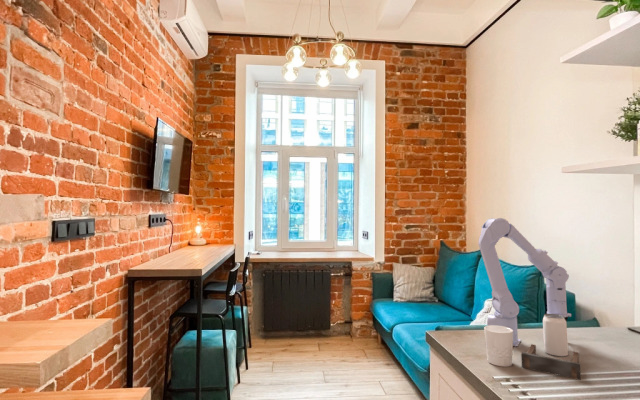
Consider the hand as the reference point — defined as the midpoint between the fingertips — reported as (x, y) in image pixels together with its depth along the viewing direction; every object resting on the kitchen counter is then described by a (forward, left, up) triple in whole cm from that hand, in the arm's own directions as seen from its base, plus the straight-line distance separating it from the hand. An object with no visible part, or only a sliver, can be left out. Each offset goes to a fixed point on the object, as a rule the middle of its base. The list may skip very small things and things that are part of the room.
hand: (558, 339), depth 125 cm
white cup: (-13, -30, -2) cm, 33 cm away
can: (0, -11, -2) cm, 11 cm away
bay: (0, -23, -2) cm, 23 cm away
